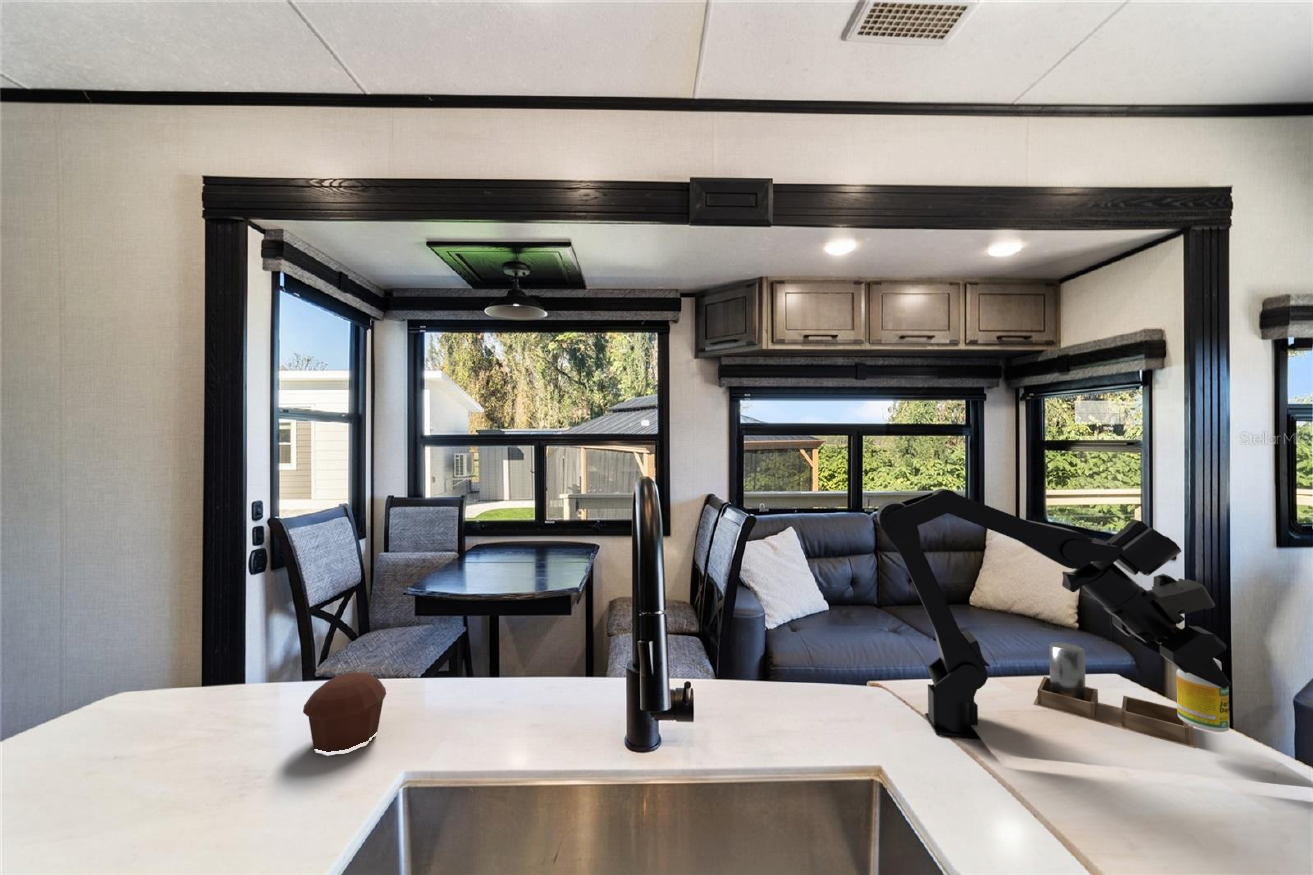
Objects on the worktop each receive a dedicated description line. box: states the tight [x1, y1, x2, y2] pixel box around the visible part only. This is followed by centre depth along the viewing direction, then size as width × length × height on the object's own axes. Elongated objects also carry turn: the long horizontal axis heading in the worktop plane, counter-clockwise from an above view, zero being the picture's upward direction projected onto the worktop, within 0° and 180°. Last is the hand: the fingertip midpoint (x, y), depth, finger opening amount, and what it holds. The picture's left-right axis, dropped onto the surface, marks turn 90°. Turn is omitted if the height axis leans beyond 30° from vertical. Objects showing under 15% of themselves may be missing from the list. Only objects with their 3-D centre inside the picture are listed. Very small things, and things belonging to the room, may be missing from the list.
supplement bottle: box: [1176, 657, 1230, 733], centre depth 77 cm, size 5×5×10 cm
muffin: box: [302, 671, 387, 752], centre depth 84 cm, size 12×11×10 cm
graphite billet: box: [1048, 641, 1087, 701], centre depth 94 cm, size 5×5×10 cm
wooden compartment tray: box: [1032, 676, 1196, 749], centre depth 90 cm, size 20×9×4 cm, turn 46°
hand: (1214, 678), depth 77 cm, fingers closed on supplement bottle, 5 cm apart
